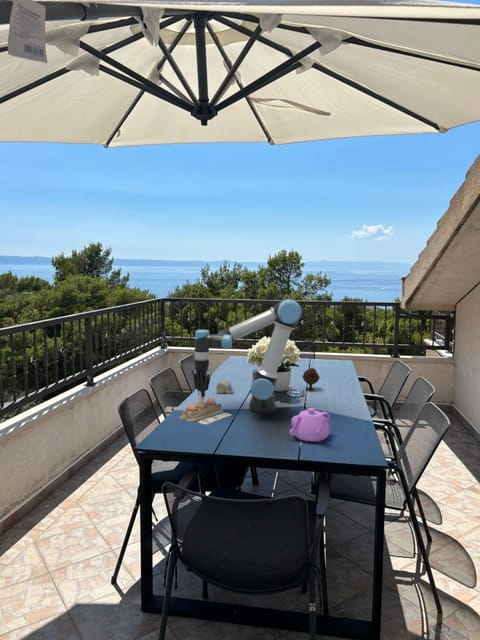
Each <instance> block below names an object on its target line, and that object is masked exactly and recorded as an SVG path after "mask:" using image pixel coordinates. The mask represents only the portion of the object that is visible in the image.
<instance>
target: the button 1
mask: <svg viewBox="0 0 480 640" xmlns="http://www.w3.org/2000/svg"><path fill="white" fill-rule="evenodd" d="M187 408H188V411H190V412H194V411H197V403H196V404H195V403H189V404H187Z"/></svg>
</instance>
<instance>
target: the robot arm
mask: <svg viewBox="0 0 480 640" xmlns="http://www.w3.org/2000/svg"><path fill="white" fill-rule="evenodd" d="M301 316H302V307H301V305H300V303H298V302H297V300H295V299H293V298H285V299H282V300H281V301H279V302H277V303H276V304H275V305H273V306H271V307H270V308H269V309H268V310H266V311H264V312H261V313H259V314H257V315H255V316H253V317H251V318H248V319H246V320H243V321H241V322H239V323H237V324H235V325H232V326H230V327H228V328H226V329H223V330H220V331H219V332H217V333H213V334H211V333H210V330H208V329H197V330H195V333H194V367H195V368H194V370H191V374H192V377H193V383H194V389H195V390H197V397H198V402H199V403H204V402H205V398H206V391H208V390H209V386H210V382H211V381H210V380H211V377H212V376H213V375H212V373H210V372H209V366H210V360H209V359H210V357H209V356H210V349H217V350H218V349H219V350H220V349H221V350H229V349H230V350H231V349H232V347H233V345H232V344H233V342H234V341H236V340H238V339H240V338H243V337H245V336H247V335H249V334H252V333H254V332H257V331H258V330H261V329H263V328H265V327H268V326H270V325H273V324H274V325H275V326H274V329H273V331H272V335H271V337H270V340H269V343H268V346H267V349H266V351H265V355H264V356H263V357H264V358H263V360H262V362H261V366H260V367H259V368H254V369H252V373H251V374H252V381H251V385H250V391H251V393H252V395H251V399H250V402H249V405H248V410H249V411H250V412H252V413H256V414H271V413H274V412H276V411H277V405H276V402H275V398H274V393H275V387H276V384H277V381H278V374H277V371H278V369H279V366H280V363H281V361H282V357H283V354H284V352H285V349H286V346H287V344H288V341H289V338H290V335H291V332H292V331H294V330H295V329H296V327H297V325H298V321H299V320H300V319H301Z"/></svg>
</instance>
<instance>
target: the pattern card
mask: <svg viewBox="0 0 480 640" xmlns="http://www.w3.org/2000/svg"><path fill="white" fill-rule="evenodd" d="M229 417H232V414H231V413H227V412H222V413H219V414H216V415H213V416H210V417H207V418H204V419H201V420H198V421H197V422H198V424H201V425H204V426H206V425H209V424H213V423H214V422H218V421H220V420H223V419H226V418H229Z"/></svg>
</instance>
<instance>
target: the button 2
mask: <svg viewBox="0 0 480 640" xmlns="http://www.w3.org/2000/svg"><path fill="white" fill-rule="evenodd" d="M206 402H207V405H209V406H213V405H215V403H216V399H215V398H212V397H210V398H207V399H206Z"/></svg>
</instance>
